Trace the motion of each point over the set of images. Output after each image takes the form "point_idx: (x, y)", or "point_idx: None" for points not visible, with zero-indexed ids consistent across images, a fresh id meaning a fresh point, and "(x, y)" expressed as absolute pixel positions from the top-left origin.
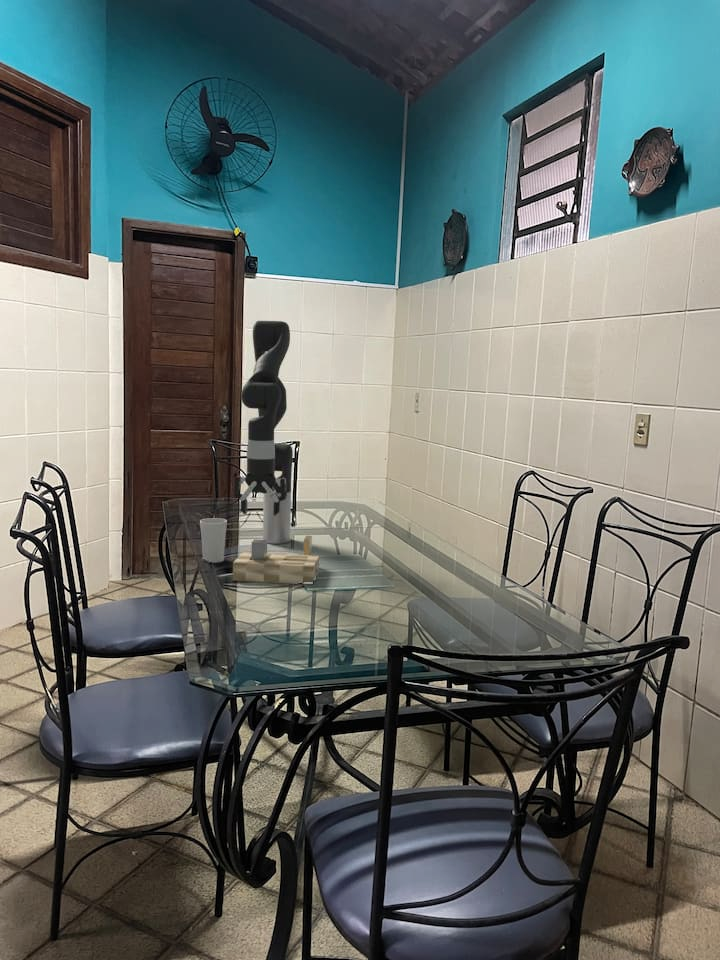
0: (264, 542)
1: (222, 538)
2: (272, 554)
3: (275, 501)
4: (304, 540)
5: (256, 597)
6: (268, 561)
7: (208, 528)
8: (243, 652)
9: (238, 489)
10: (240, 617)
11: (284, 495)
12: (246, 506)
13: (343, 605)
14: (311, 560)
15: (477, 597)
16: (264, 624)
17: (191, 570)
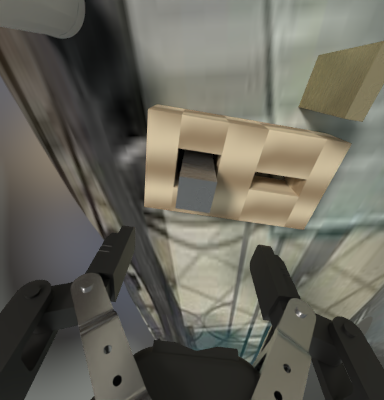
0: (209, 209)
1: (41, 3)
2: (228, 136)
3: (273, 328)
4: (344, 118)
5: (197, 258)
6: (216, 198)
7: None
8: (194, 348)
9: (32, 380)
10: (184, 304)
11: (337, 375)
12: (125, 260)
13: (304, 281)
14: (314, 188)
15: None
16: (208, 316)
17: (49, 123)
